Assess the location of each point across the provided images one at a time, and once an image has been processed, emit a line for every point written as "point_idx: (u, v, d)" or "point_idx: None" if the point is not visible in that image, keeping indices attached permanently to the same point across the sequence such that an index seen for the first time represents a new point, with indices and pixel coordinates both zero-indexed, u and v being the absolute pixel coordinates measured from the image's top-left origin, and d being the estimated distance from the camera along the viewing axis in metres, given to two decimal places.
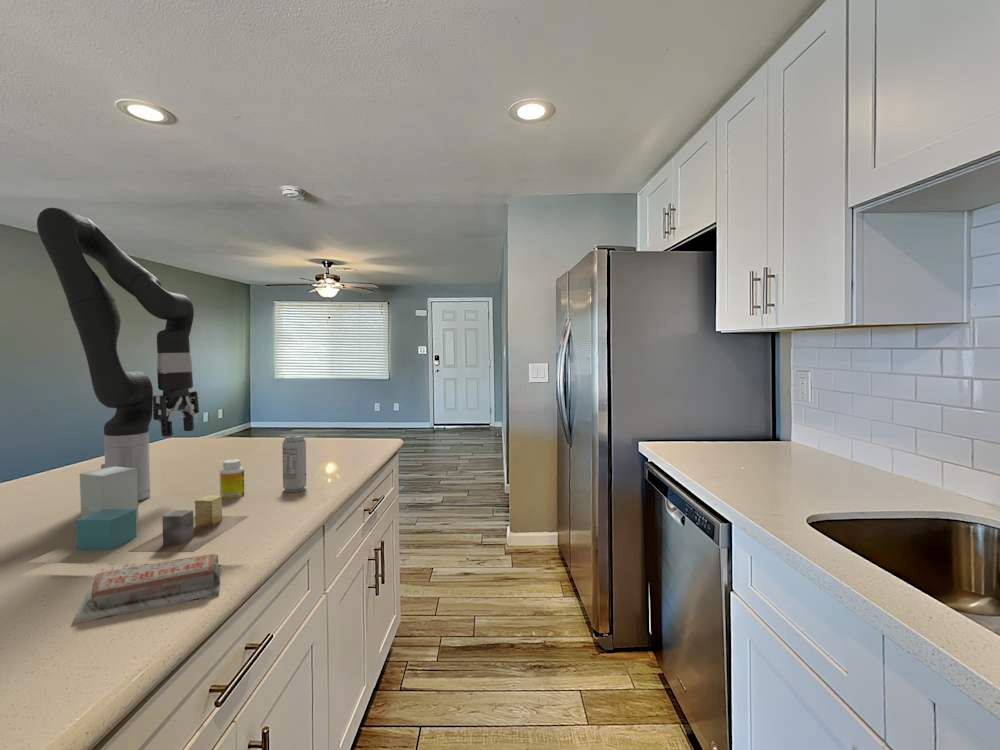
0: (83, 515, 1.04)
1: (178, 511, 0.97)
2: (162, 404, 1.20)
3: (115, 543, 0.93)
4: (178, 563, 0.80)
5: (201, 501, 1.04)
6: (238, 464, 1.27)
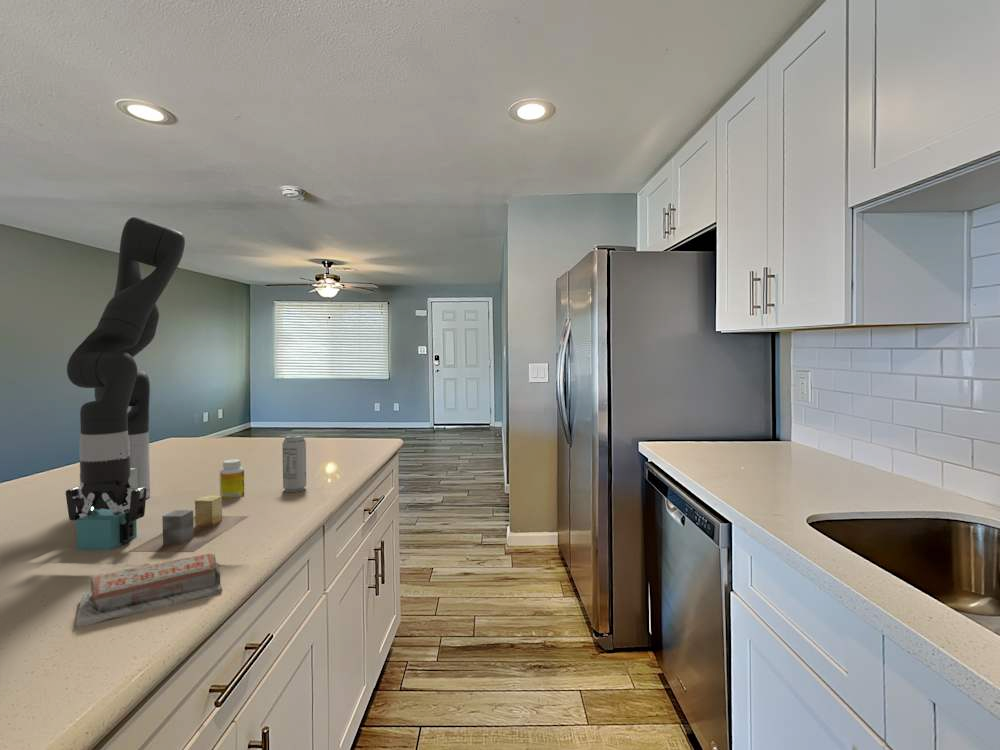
0: None
1: (178, 511, 0.97)
2: (144, 498, 0.96)
3: (115, 543, 0.93)
4: (177, 563, 0.80)
5: (201, 501, 1.04)
6: (238, 464, 1.27)
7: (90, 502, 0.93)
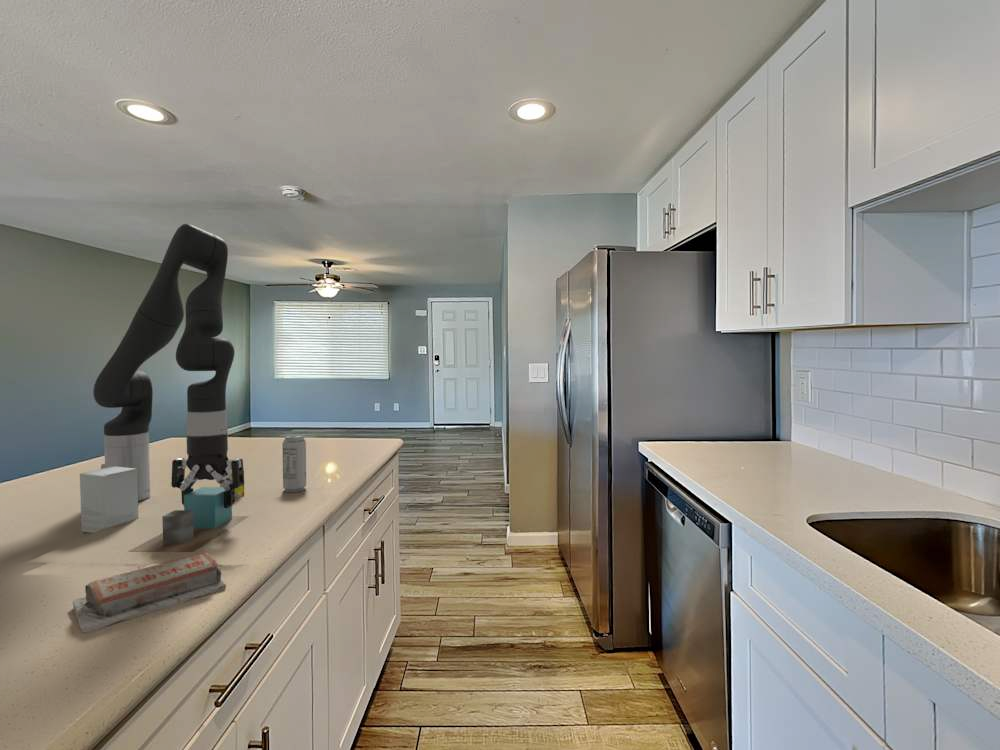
0: (83, 515, 1.04)
1: (178, 511, 0.97)
2: (242, 468, 1.07)
3: (218, 516, 1.04)
4: (174, 564, 0.80)
5: None
6: None
7: (194, 473, 1.04)
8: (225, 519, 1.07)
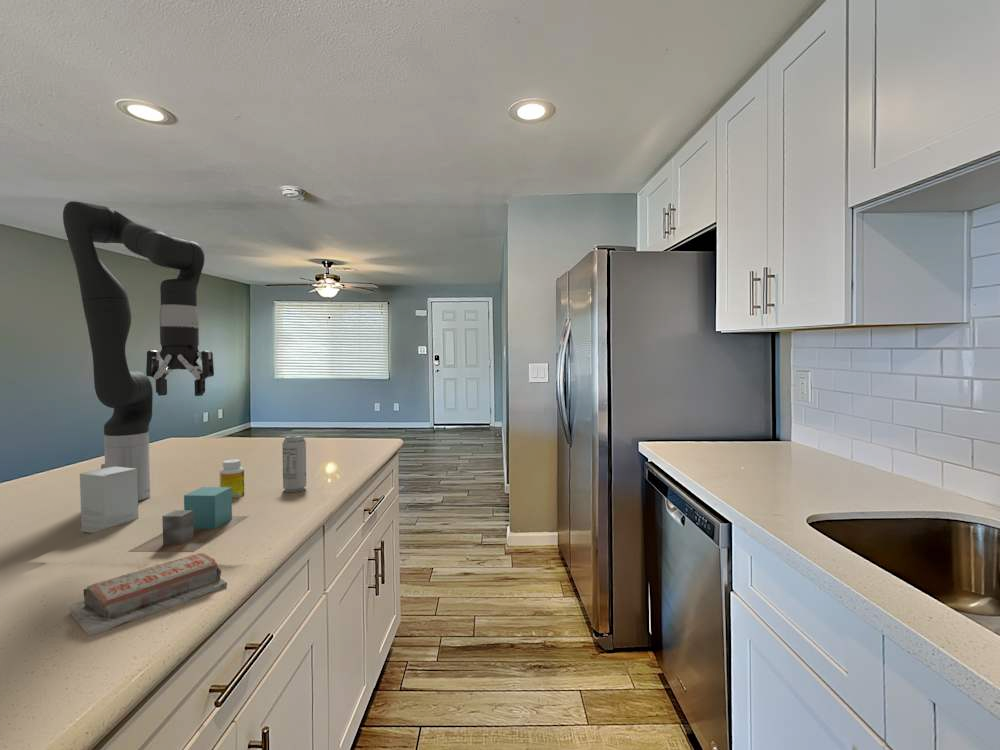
0: (83, 515, 1.04)
1: (178, 511, 0.97)
2: (212, 360, 1.16)
3: (218, 516, 1.04)
4: (173, 565, 0.79)
5: None
6: (238, 464, 1.27)
7: (167, 362, 1.13)
8: (225, 519, 1.07)
